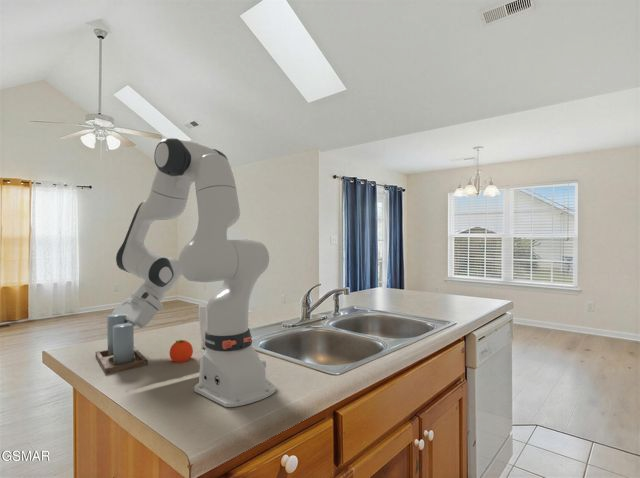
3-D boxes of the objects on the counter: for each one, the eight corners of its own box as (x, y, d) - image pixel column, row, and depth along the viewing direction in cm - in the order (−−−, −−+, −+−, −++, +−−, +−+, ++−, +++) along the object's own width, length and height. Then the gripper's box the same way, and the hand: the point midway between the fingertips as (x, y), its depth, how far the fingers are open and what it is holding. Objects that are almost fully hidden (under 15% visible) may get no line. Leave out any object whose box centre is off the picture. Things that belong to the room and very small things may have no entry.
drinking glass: (221, 343, 133) (221, 303, 132) (214, 349, 126) (214, 307, 126) (204, 343, 133) (203, 303, 133) (196, 349, 127) (195, 307, 126)
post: (128, 352, 117) (128, 315, 116) (109, 356, 113) (108, 318, 113) (125, 348, 121) (124, 312, 121) (106, 352, 117) (105, 315, 117)
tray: (147, 368, 110) (147, 359, 110) (105, 377, 103) (105, 368, 103) (132, 352, 124) (132, 344, 124) (95, 359, 117) (95, 351, 117)
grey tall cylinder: (136, 365, 109) (135, 325, 109) (115, 369, 106) (114, 329, 106) (131, 360, 114) (131, 322, 113) (111, 364, 110) (111, 325, 110)
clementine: (164, 361, 115) (164, 339, 115) (185, 356, 120) (185, 335, 120) (175, 368, 109) (175, 345, 109) (197, 362, 114) (196, 340, 114)
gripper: (126, 289, 129) (95, 322, 121) (152, 296, 115) (120, 333, 108) (139, 300, 132) (110, 332, 125) (166, 307, 119) (135, 344, 112)
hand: (115, 333), depth 116 cm, fingers closed on post, 5 cm apart
